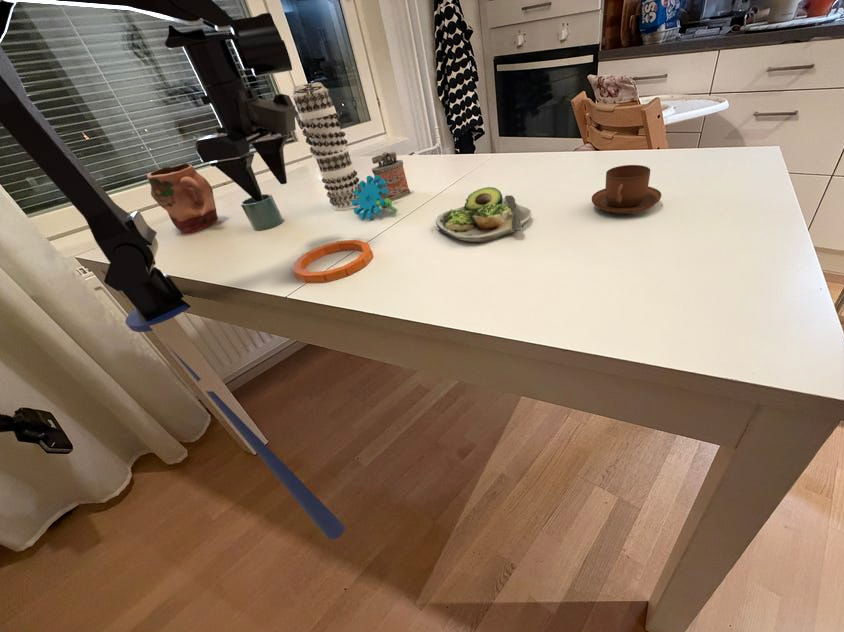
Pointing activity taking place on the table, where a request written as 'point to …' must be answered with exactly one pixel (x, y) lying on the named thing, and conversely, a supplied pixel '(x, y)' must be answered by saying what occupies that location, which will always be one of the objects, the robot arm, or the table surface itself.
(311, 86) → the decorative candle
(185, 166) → the decorative planter
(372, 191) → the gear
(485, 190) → the avocado toast plate
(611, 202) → the cup and saucer
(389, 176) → the lighter
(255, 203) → the cup
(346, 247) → the ring
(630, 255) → the table surface
